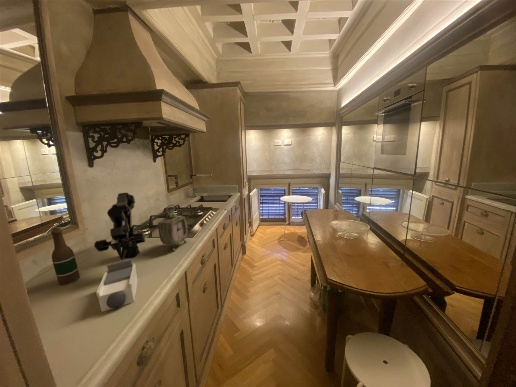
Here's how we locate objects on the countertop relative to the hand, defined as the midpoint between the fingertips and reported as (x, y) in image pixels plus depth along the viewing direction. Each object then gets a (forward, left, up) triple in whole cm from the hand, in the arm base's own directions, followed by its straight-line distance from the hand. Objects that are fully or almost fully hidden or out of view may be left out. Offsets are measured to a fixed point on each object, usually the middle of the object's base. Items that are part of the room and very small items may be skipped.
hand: (121, 259), depth 92 cm
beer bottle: (-26, +2, -9) cm, 27 cm away
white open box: (+4, -12, -9) cm, 15 cm away
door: (+3, -8, -3) cm, 9 cm away
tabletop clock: (+13, +29, -9) cm, 33 cm away
